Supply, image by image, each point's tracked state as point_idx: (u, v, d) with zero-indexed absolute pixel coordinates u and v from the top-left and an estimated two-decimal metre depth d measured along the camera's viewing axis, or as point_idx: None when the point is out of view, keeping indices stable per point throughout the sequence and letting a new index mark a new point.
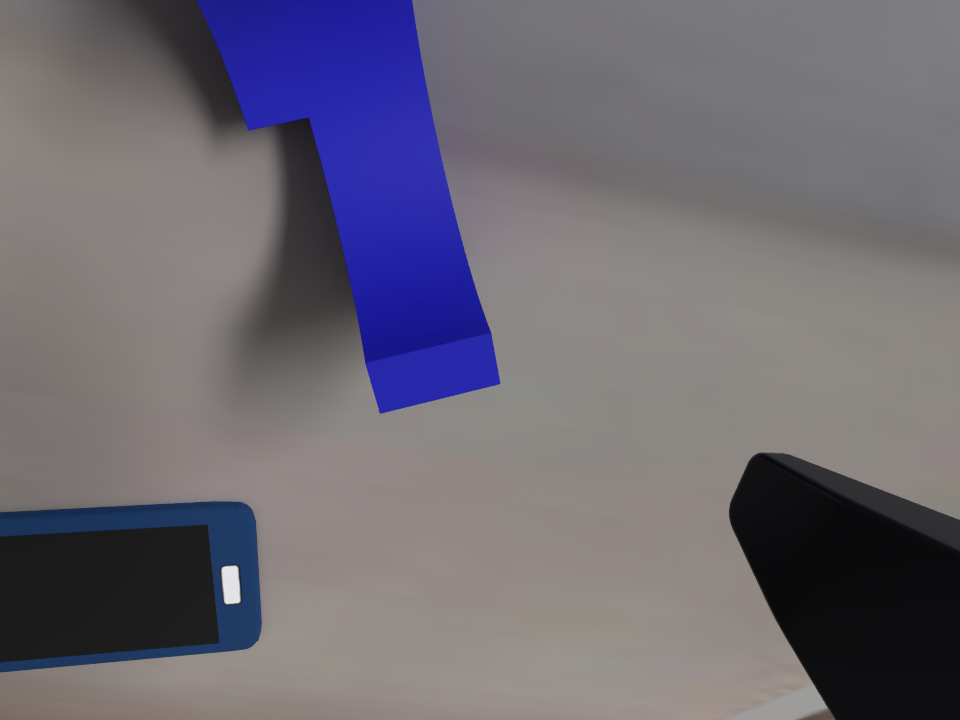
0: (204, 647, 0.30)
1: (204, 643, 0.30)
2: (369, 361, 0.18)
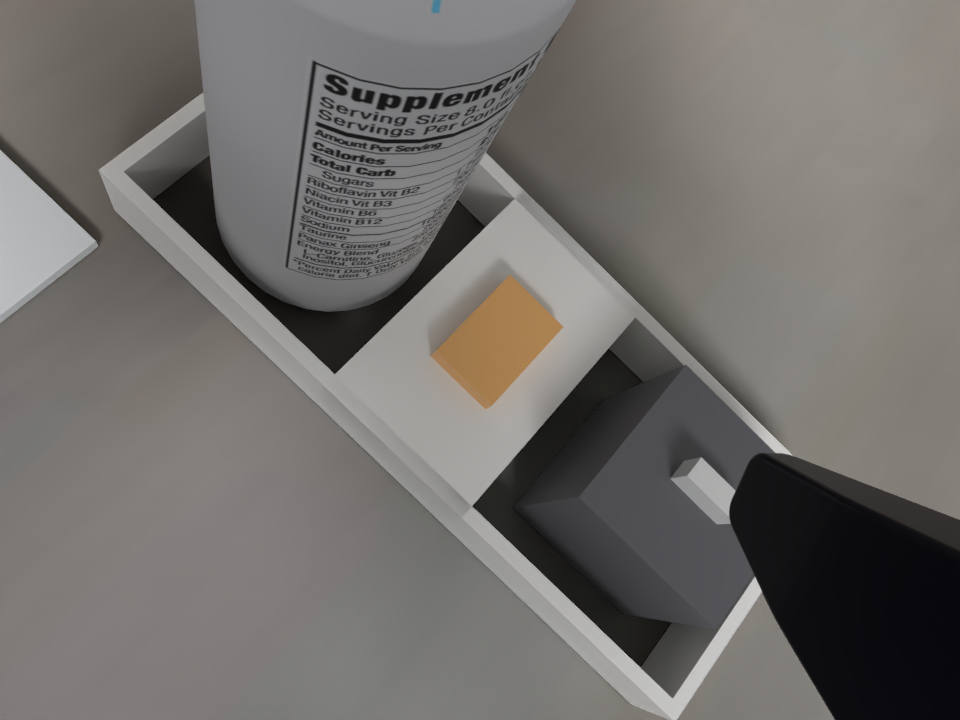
0: None
1: None
2: None
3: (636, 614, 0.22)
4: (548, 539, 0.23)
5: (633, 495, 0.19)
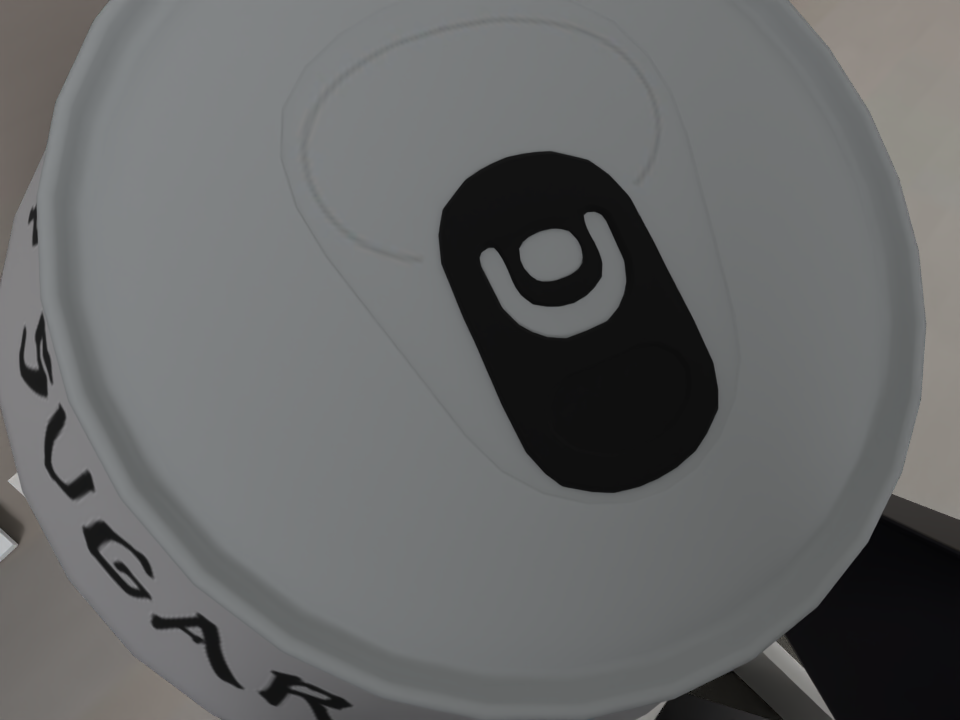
0: None
1: None
2: None
3: None
4: None
5: None
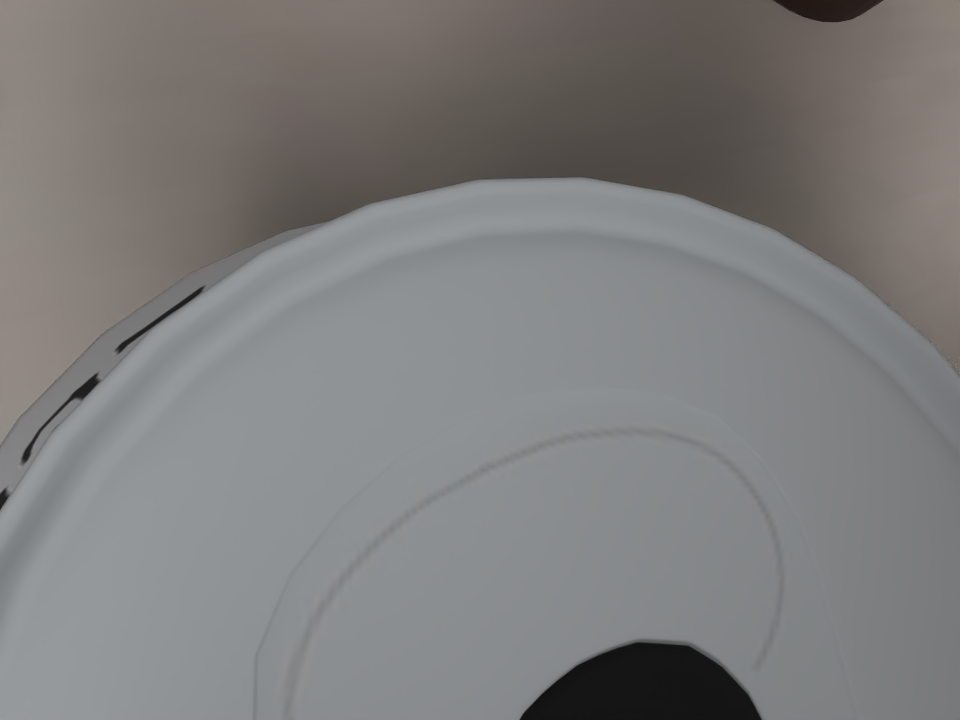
0: None
1: None
2: None
3: None
4: None
5: None
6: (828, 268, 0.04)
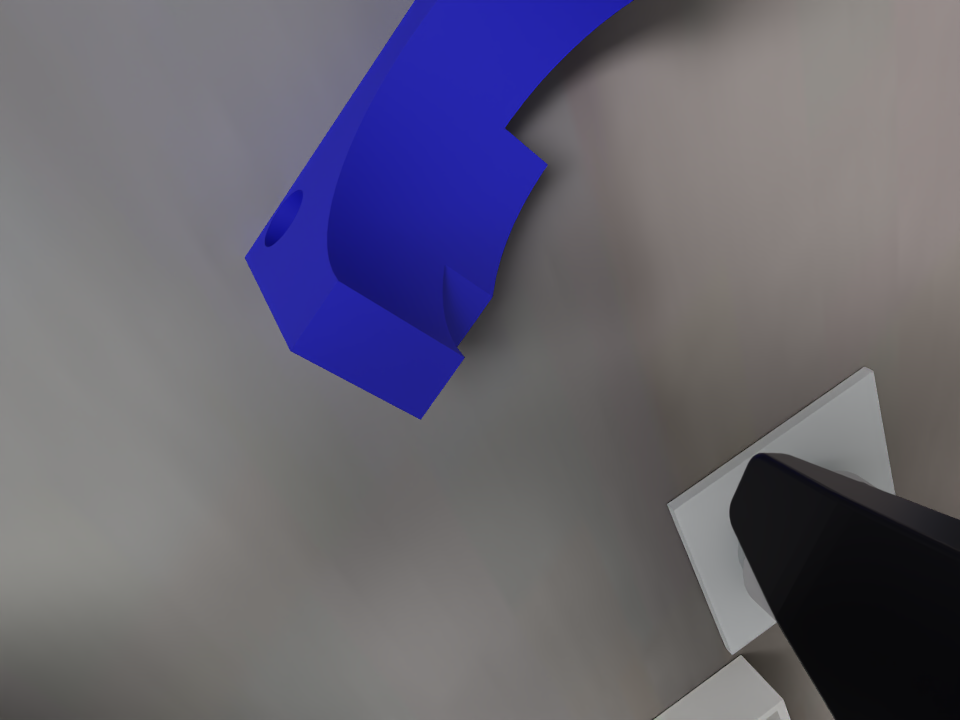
0: None
1: None
2: None
3: None
4: None
5: None
6: None
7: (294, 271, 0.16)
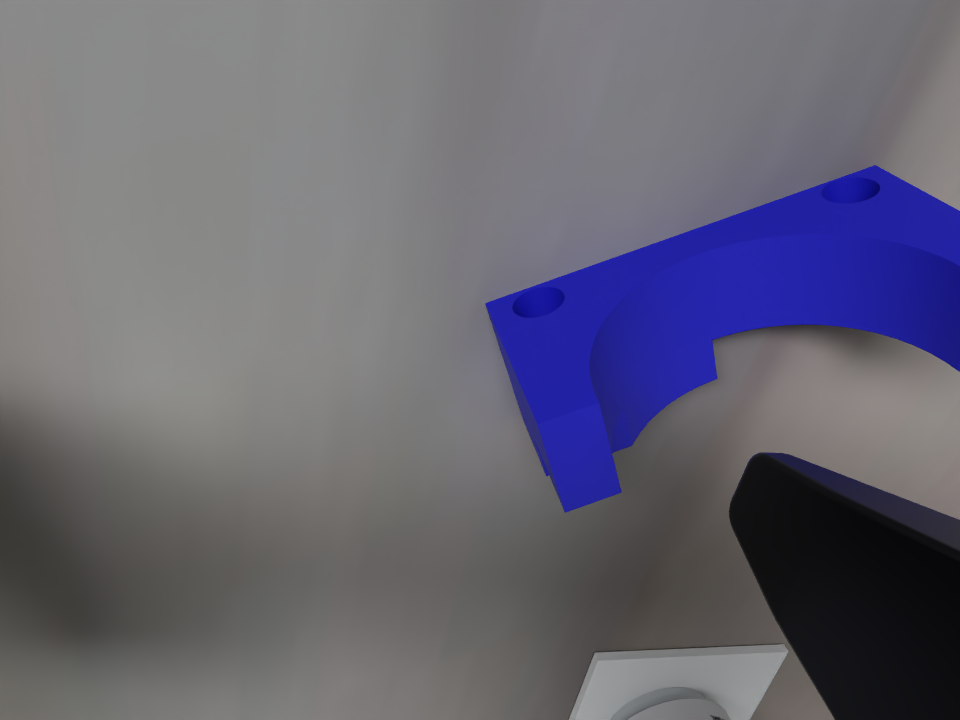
0: None
1: None
2: (958, 367, 0.20)
3: None
4: None
5: None
6: None
7: (547, 359, 0.20)
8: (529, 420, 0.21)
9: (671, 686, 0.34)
